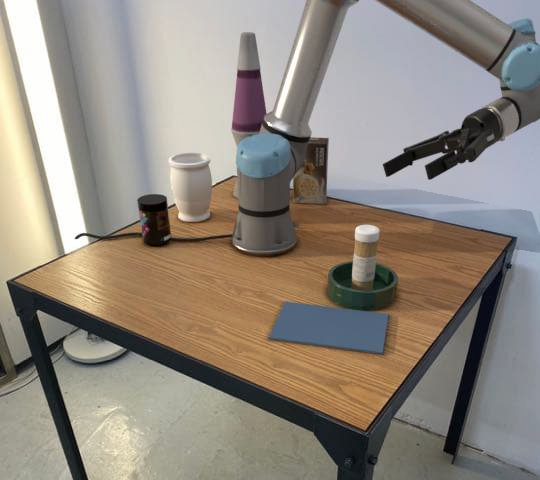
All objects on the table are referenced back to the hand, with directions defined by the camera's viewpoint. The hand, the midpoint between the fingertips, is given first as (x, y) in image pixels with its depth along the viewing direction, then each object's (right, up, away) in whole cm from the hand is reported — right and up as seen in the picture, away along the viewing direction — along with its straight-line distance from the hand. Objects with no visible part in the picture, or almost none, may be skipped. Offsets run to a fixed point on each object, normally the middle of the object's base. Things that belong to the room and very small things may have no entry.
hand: (405, 171), depth 110 cm
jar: (-46, 0, +37) cm, 59 cm away
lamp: (-32, +10, +51) cm, 61 cm away
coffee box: (-15, +8, +47) cm, 50 cm away
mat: (-15, -31, -7) cm, 35 cm away
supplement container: (-53, -9, +25) cm, 59 cm away
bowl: (-8, -23, +4) cm, 25 cm away
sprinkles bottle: (-8, -23, +3) cm, 25 cm away
